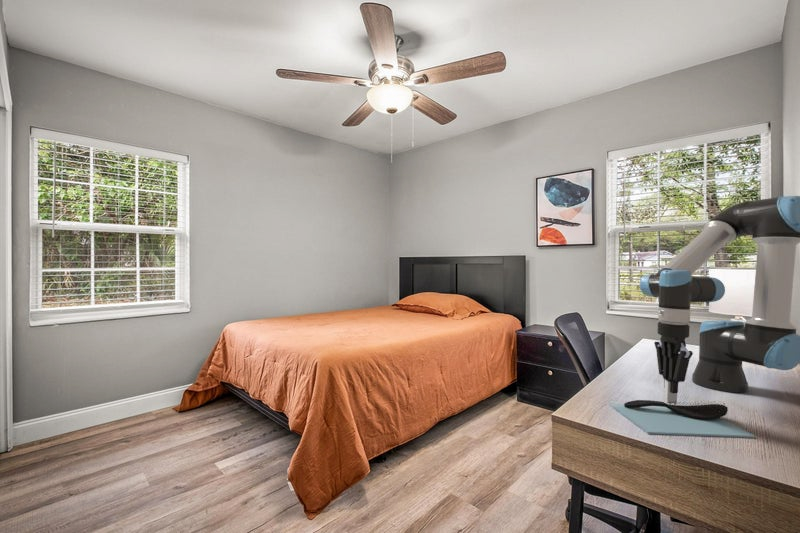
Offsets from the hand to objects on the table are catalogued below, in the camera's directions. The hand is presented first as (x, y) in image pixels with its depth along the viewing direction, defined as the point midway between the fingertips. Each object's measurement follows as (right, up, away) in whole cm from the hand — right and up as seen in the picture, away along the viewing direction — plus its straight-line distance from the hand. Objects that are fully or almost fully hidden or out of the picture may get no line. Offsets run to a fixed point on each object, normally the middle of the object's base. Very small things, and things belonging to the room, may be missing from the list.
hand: (670, 402), depth 109 cm
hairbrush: (-2, -2, -3) cm, 4 cm away
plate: (-4, -2, -7) cm, 8 cm away
